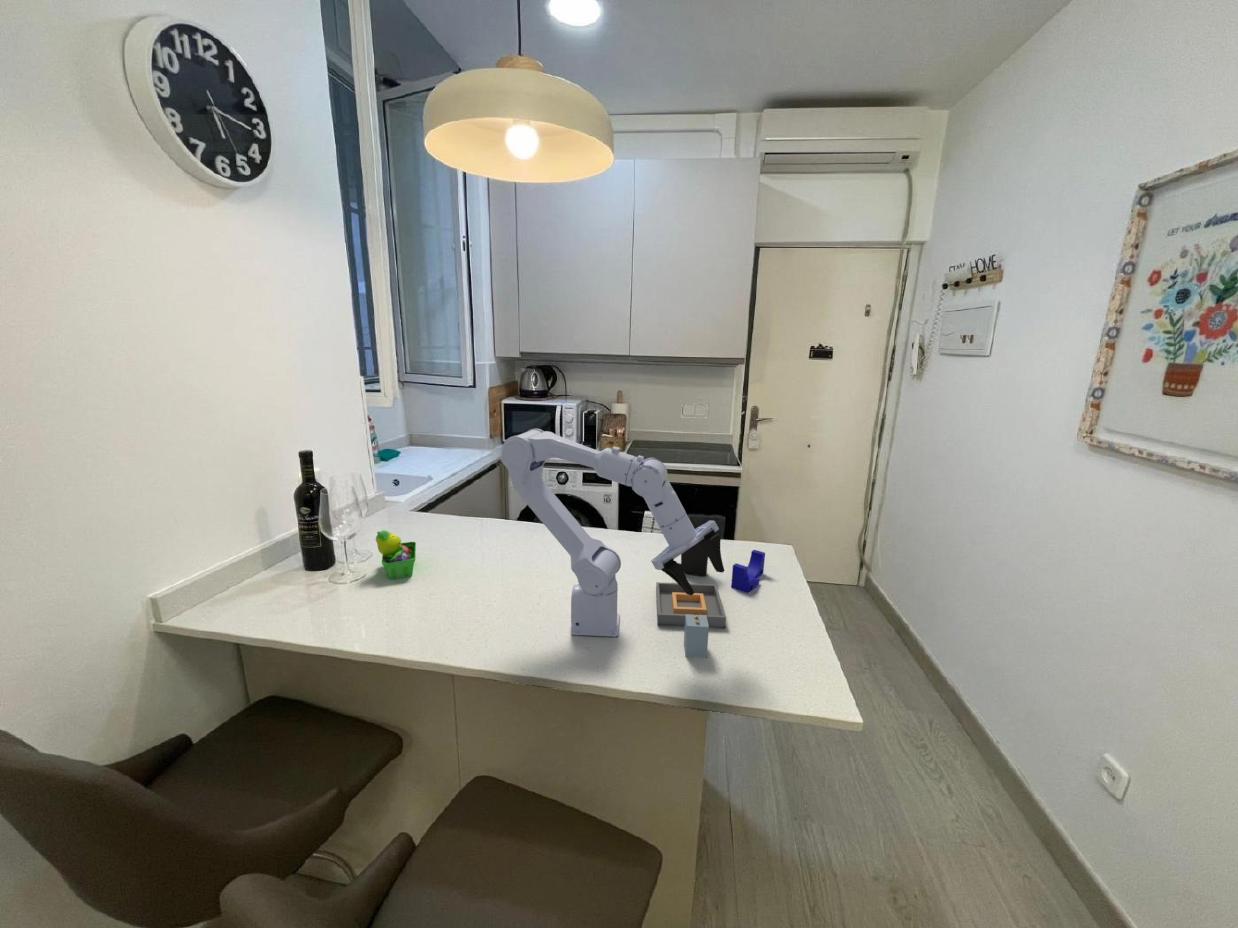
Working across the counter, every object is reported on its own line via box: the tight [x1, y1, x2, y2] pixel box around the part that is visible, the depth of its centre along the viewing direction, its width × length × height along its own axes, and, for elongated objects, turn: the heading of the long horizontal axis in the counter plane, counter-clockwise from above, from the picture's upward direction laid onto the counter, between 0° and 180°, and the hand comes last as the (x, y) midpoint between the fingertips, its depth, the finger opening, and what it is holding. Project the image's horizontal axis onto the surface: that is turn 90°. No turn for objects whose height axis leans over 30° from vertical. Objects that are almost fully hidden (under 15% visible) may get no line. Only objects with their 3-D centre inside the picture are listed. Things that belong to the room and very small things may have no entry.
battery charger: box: [680, 543, 709, 577], centre depth 125 cm, size 7×4×11 cm, turn 73°
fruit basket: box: [375, 529, 417, 580], centre depth 124 cm, size 11×9×11 cm
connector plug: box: [683, 614, 710, 658], centre depth 94 cm, size 4×4×7 cm
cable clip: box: [730, 549, 766, 594], centre depth 122 cm, size 12×4×6 cm, turn 141°
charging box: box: [655, 581, 727, 629], centre depth 109 cm, size 14×14×2 cm
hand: (705, 582), depth 93 cm, fingers open, 7 cm apart
